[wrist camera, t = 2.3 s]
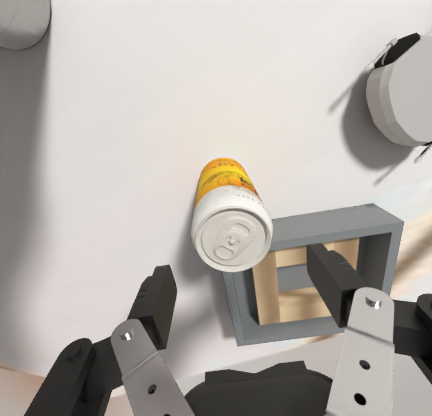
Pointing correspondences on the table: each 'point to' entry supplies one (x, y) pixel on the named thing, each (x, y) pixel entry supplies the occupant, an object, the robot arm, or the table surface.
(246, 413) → the robot arm
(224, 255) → the beer can
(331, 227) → the open-top box
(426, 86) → the robot toy
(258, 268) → the plate
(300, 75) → the table surface
